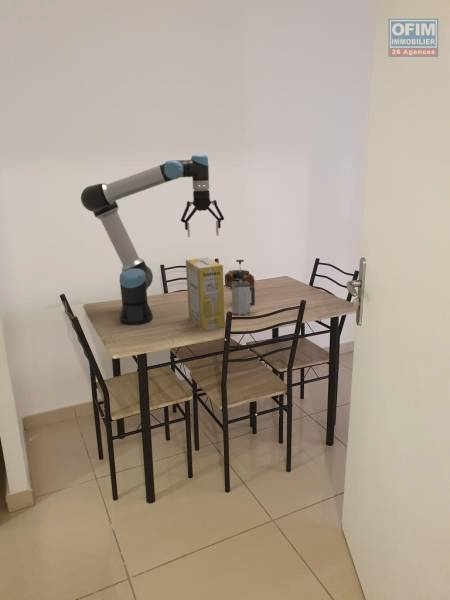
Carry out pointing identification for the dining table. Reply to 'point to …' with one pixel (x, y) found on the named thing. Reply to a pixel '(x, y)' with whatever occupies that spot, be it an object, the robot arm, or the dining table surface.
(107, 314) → the dining table surface
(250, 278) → the bread
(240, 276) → the ball knob on rod
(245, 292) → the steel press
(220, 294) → the pasta box
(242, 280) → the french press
